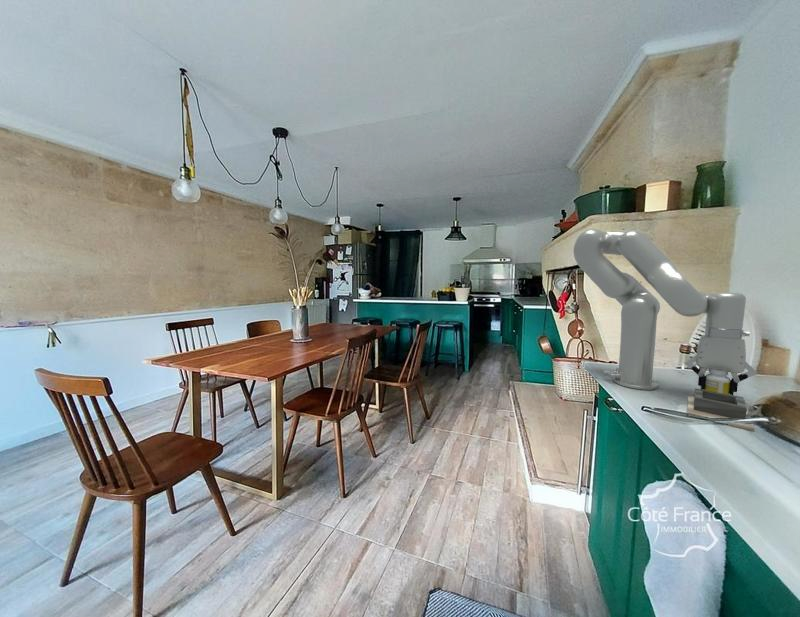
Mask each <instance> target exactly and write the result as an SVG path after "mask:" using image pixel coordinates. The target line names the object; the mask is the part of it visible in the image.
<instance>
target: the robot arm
mask: <svg viewBox="0 0 800 617" xmlns="http://www.w3.org/2000/svg"><path fill="white" fill-rule="evenodd" d="M576 238H577V239H576V240H575V243H574V247H573V258H574V260H575V261H576V264H577V266H578V267H579V268H580V270H582V271H583V272H584V273H585V275H586V276H587V277H588V278H589V279H590V280H591V281H592V282H593V283H594V284H595V286H597V287H598V288H599V289H600V291H601V292H602V293H603V294H604V295H605V296H606V297H608V298H611V299H615V300H616V301H617V302H618V304H620V305H621V306H622V307H621V312H620V323H621V324H620V326H621V328H620V346H619V358H618V360H619V361H618V367H615V369H612V370H609V369H608V370H607V369H603V370H602V375H603V376H608V377H610V378H612V381H613V382H614V383H615V384H617V385H619V386H623V387H625V388H629V389H636V390H641V391H642V390H643V391H644V390H645V391H646V390H647V391H651V390H656V389H658V386H659V385H658V383H657V382H656V381H654V380H653V374H654V372H653V371H654V364H655V362H654V361H655V348H656V337H657V336H656V335H657V320H658V314H659V312H660V311H661V305H660V304H661V303H660V301H659V299H657V297H656V296H654V294H652V292H650V290H648V289H647V288H646V287H645V286H644V285H642V283H640V282H639V281H638V280H637V279H636V278H635V277H634V276H633V275H631V274H629V273H627V272H623V271H621V270H620V269H619V268H618V267H616V266H615V264H613V263H612V261H610V260H609V259H608V258H607V257H606V256H605V255H616V256H622V257H624V259H625V260H626V261H627V262H629V263H630V265H631V266H632V267H633V268H634V269H635V270H636V271H637V272H638V273H639V274H640V276H642V278H643V279H644V280H645V281H646V282H647V283H648V284H649V285H650V286H651V287H652V288H653V289H654V291H656V293H658V295H659V296H660V297H661V298H662V299H663V300H664V301H665V302H666V303H667V305H669V306H670V307H671V308H672V309H673V311H675V313H677V314H679V315H680V316H683V317H686V318H687V317H688V318H690V317H692V318H694V317H697V316H700V315H702V314H706V320H705V328H704V329H705V330H704V334H702V335H700V338H699V341H698V345H697V349H696V353H695V355H694V356H692V357H691V358H688V359H687V360H686V361H685V362H684V364H685V365H686V366H687V367H688V368H690V369H691V370H692V371H693V372H694V373H695V374H696V375H697V376H698V382H697V386H699V387H700V389H701V390H704V386H705V376H706V375H705V374H706V372H707V371H708V370H709V369H712V370H719V371H725V372H728V373H731V375H730V376H732V378H731V379H730V380H731V383H730V392H729V395H734V393H738V386H739V383H740V382H741V381H744V380H746V379H749V378H751V377H754V376H756V375H758V372H757V370H756V369H754V368H753V367H752V366H751V365H750V364H749V363H748V362H747V360H746V359H747V355H746V354H747V349H746V341H745V339H744V337H750V331H746V330H744V329H743V327H744V317H745V310H746V302H747V299H746V295H745V294H743V293H740V292H703V291H699V290H697V289H696V288H695V286H693V285H692V284H691V283H690V282H689V281H688V280H687V279H686V278H685V277H684V276H683V275H682V274H681V273H680V271H679V270H678V269H677V267H676V265H675V264H674V263H673V261H672V260H671V259H670V258H669V257H668V256H667V255H666V254H665V253H664V252H663V251H662V250H661V249H659V247H658V246H657V245H655V244H654V243H653V242H652V241H651V239H650V238H648V236H647V235H646V234H644V233H643V232H641V231H639V230H635V229H634V230H633V229H632V230H631V229H630V230H627V231H625V232H624V231H623V232H617V231H616V232H615V231H603V230H600V229H596V228H590V229H586V230H585V231H583V232H582V233H580V234H579V235H578V237H576ZM604 254H605V255H604ZM694 363H695V364H696V365H694ZM698 367H699V368H698ZM745 370H746V372H745Z"/></svg>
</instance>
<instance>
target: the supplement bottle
mask: <svg viewBox="0 0 800 617" xmlns="http://www.w3.org/2000/svg"><path fill="white" fill-rule="evenodd" d="M728 376H729V372H725V371H719V370H712V369H708V373H707V374H706V375H705V386H704V389H703V390H707V391H712V392H718V393H723V394H728V395H730V394H729V392H730V383H731V379H730V377H728Z"/></svg>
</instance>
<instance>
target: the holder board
mask: <svg viewBox="0 0 800 617" xmlns="http://www.w3.org/2000/svg"><path fill="white" fill-rule="evenodd" d="M687 396H688V397H687V409H686V410H687V412H686V415H687V414H689V415H695V416H700V417H708V418H742V419H746V414H747V412H748V411H749V409H748V406H747V405H746V401H745V399H744V397H743V396H738V395H734V394H733V395H730V394H729V395H728V394H723V393H718V392H712V391H707V390H704V389H703V390H702V389H701V388H695V389H694V395H687ZM726 422H729V421H726ZM728 425H729V427H734V428H737V429H740V430H741V429H742V430H746V431H751V432H755V426H754V423H753V424H745V423H734V422H729V424H728ZM728 425H727V426H728Z"/></svg>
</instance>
